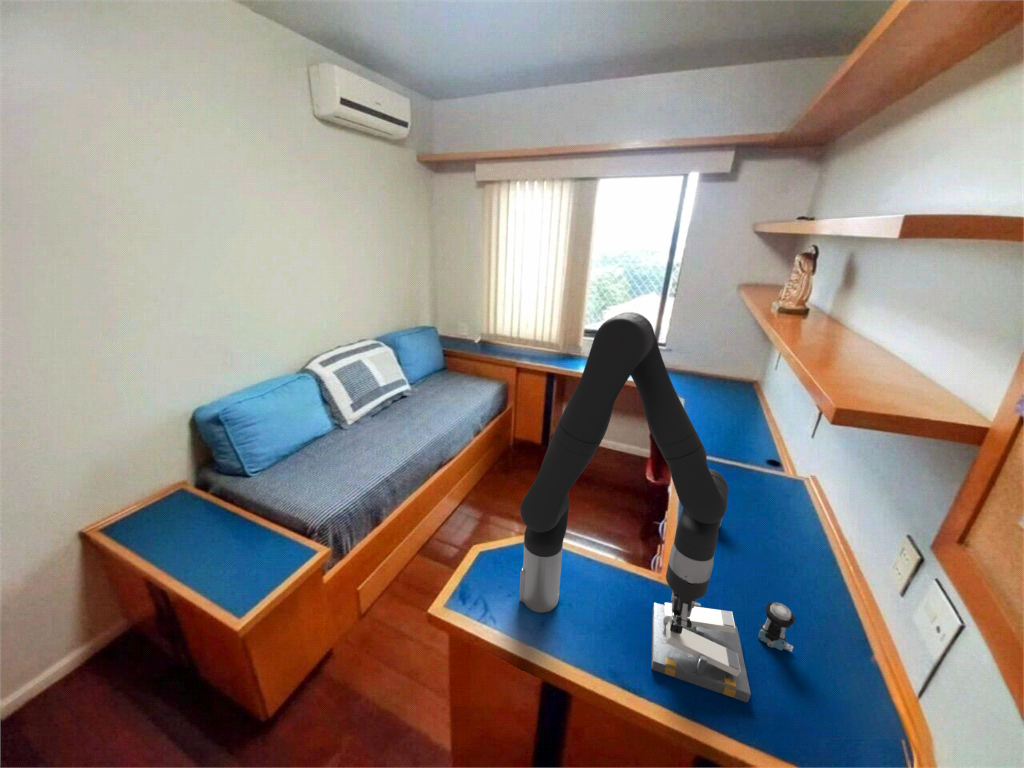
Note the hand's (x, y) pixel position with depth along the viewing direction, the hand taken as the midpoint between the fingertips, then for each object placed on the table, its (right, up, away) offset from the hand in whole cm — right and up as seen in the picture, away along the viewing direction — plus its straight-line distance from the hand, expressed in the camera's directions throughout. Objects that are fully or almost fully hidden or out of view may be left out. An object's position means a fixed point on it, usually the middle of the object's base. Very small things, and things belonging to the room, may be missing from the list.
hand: (675, 629), depth 80 cm
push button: (+25, -7, +7) cm, 27 cm away
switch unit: (+6, -8, +5) cm, 11 cm away
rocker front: (+5, -3, -1) cm, 6 cm away
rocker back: (+8, -1, +6) cm, 10 cm away
